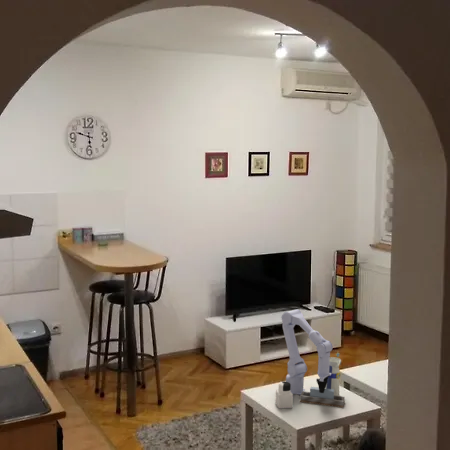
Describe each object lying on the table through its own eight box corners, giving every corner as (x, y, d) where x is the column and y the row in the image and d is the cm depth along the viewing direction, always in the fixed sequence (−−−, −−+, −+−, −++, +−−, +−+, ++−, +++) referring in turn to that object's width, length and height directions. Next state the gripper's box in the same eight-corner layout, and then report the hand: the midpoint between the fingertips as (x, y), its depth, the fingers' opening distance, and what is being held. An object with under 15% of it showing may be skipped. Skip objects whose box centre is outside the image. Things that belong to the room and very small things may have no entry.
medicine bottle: (288, 402, 314) (289, 379, 312) (292, 408, 307) (293, 385, 305) (275, 402, 312) (276, 380, 311) (278, 408, 305) (279, 385, 304)
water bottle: (343, 394, 325) (345, 349, 322) (334, 399, 319) (336, 352, 316) (330, 390, 331) (332, 345, 328) (321, 394, 325) (323, 349, 322)
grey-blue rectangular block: (309, 399, 315) (310, 388, 315) (310, 397, 318) (311, 386, 317) (333, 402, 312) (333, 391, 311) (333, 400, 315) (334, 389, 314)
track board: (299, 401, 314) (300, 396, 314) (302, 396, 322) (302, 390, 322) (343, 407, 308) (343, 402, 308) (344, 401, 316) (344, 396, 315)
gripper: (330, 370, 305) (328, 396, 306) (333, 360, 318) (332, 385, 320) (315, 368, 307) (314, 394, 308) (319, 359, 320) (318, 384, 322)
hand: (322, 389), depth 314 cm, fingers open, 7 cm apart
